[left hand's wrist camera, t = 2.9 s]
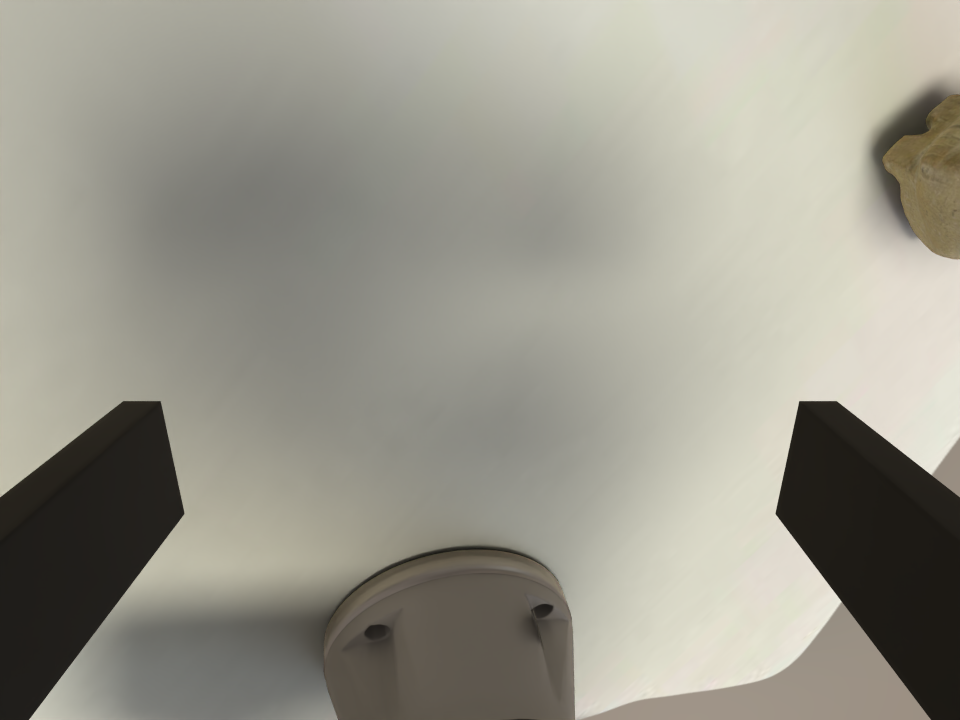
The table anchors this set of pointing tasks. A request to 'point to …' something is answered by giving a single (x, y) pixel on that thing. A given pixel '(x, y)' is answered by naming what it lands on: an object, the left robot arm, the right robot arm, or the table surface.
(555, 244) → the table surface
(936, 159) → the sculpture
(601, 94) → the table surface
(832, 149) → the table surface
